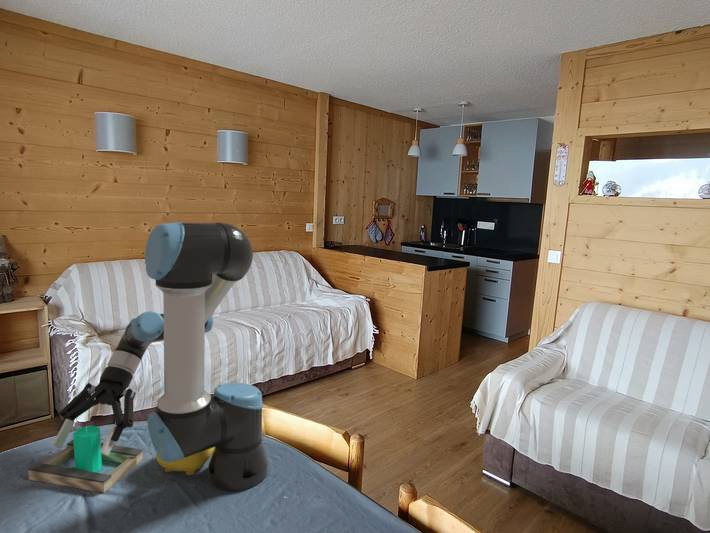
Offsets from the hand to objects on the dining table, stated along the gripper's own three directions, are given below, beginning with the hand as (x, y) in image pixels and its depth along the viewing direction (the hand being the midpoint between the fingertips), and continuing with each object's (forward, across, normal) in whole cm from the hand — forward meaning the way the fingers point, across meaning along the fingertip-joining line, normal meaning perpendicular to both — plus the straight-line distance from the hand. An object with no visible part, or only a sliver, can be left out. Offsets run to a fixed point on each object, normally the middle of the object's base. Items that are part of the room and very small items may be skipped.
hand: (79, 450), depth 110 cm
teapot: (-3, -22, -13) cm, 26 cm away
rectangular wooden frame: (+3, 0, -6) cm, 7 cm away
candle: (+3, 0, -6) cm, 7 cm away
